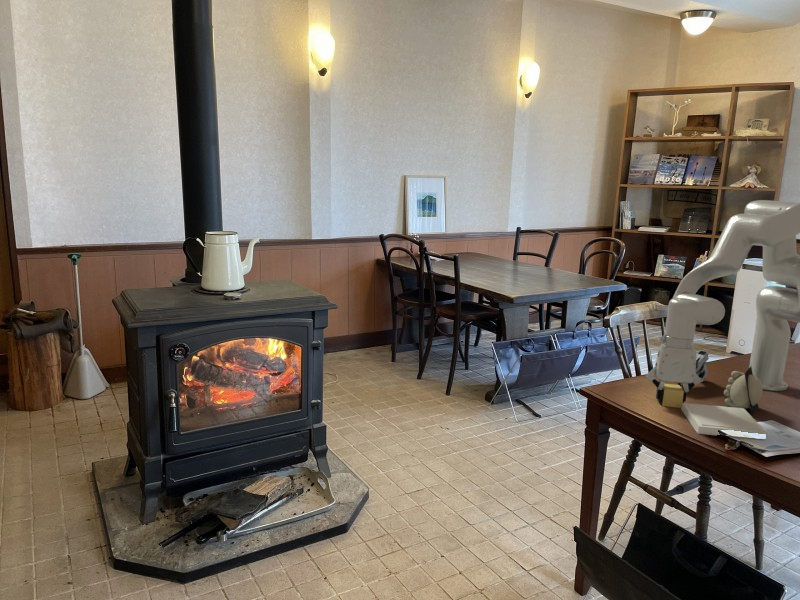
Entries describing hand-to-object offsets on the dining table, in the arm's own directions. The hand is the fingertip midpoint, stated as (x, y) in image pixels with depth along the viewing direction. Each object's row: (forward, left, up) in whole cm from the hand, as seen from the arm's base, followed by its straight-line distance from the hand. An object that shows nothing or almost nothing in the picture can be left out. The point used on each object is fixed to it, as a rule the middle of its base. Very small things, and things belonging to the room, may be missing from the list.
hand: (670, 401), depth 173 cm
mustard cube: (0, 0, -1) cm, 1 cm away
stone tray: (+12, +10, -1) cm, 16 cm away
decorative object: (-1, +19, -1) cm, 19 cm away
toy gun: (-17, +10, -1) cm, 20 cm away
